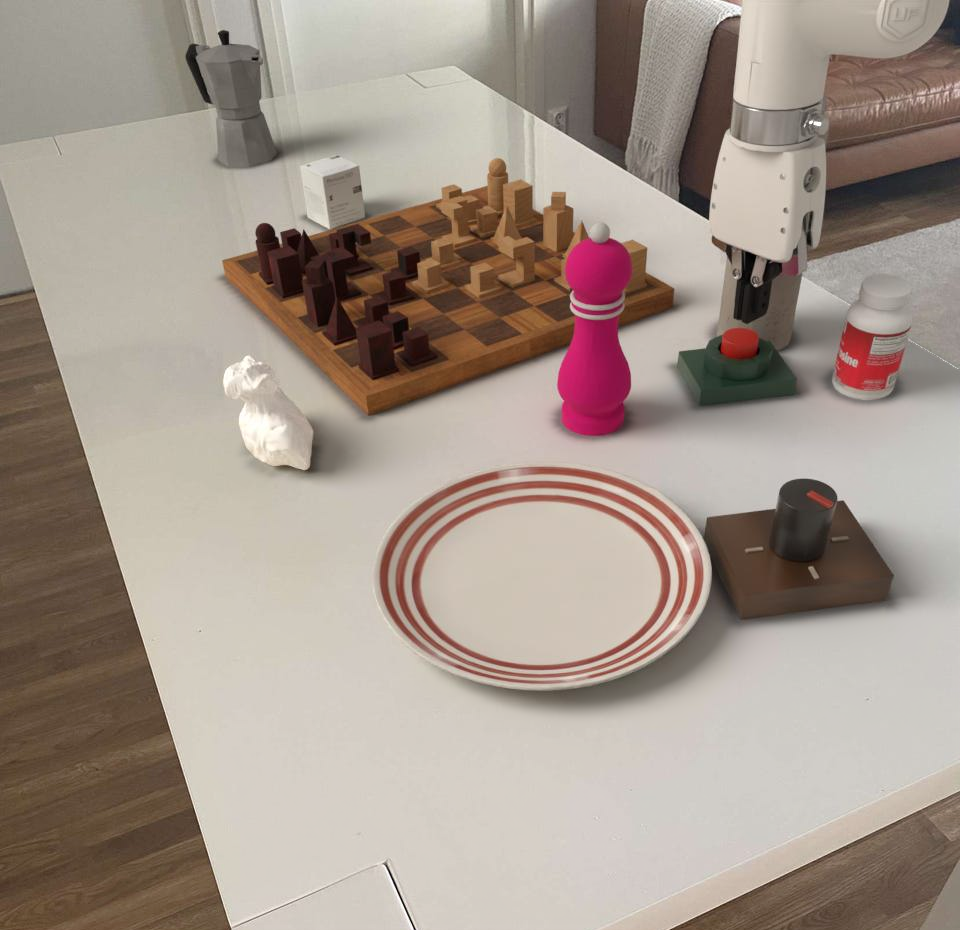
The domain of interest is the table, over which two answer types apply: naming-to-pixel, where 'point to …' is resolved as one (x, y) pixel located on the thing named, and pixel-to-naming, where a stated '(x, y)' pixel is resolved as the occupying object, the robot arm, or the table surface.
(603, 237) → the pepper mill
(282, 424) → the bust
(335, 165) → the white cardboard box
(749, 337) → the button
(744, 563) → the panel
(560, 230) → the gameboard
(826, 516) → the knob
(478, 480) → the dinner plate
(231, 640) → the table surface
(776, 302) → the thermos bottle
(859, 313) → the pill bottle
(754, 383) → the housing
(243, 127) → the coffeepot
